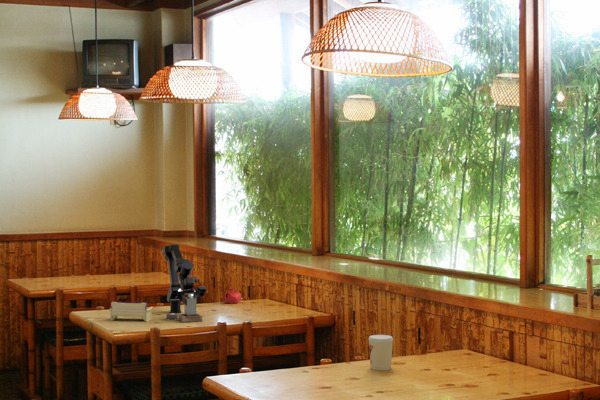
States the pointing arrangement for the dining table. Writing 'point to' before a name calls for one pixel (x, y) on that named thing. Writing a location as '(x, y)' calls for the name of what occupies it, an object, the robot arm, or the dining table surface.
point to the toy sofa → (130, 310)
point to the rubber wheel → (171, 316)
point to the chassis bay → (190, 318)
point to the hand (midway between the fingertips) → (191, 304)
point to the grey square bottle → (190, 306)
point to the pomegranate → (232, 297)
